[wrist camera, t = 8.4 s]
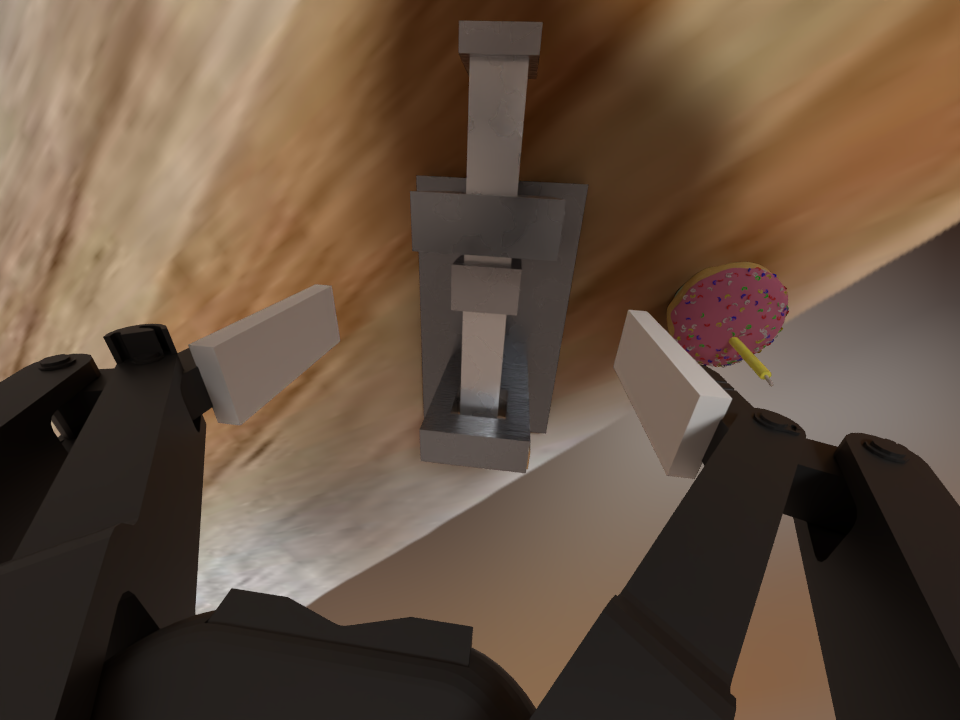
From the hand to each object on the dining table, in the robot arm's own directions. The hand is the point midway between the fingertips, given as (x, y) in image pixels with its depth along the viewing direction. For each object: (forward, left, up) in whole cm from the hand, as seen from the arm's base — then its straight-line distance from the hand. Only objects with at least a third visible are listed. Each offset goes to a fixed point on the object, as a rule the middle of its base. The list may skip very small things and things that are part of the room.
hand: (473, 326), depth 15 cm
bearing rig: (+6, 0, -18) cm, 20 cm away
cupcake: (+3, +19, -19) cm, 27 cm away
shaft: (-1, 0, -12) cm, 12 cm away
